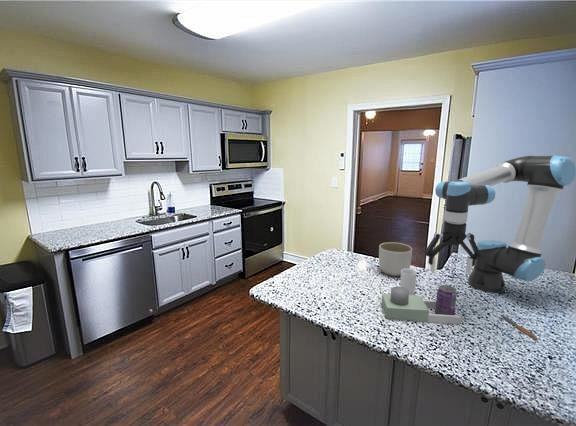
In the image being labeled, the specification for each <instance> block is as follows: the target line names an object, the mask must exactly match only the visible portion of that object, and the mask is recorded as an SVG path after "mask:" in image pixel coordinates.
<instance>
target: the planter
mask: <svg viewBox="0 0 576 426" xmlns="http://www.w3.org/2000/svg"><path fill="white" fill-rule="evenodd" d="M412 254H413V248H412V246H410V245H409V244H405V243H402V242H395V241H393V242H392V241H390V242H383V243H380V244H379V246H378V264H379V265H378V266H379V268H380V270H381V272H383V273H384V274H386V275H388V276H392V277H401V270H402V269H411V263H412V257H413V256H412Z"/></svg>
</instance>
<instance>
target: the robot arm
mask: <svg viewBox="0 0 576 426" xmlns="http://www.w3.org/2000/svg"><path fill="white" fill-rule="evenodd" d="M575 177H576V164H575V162H574V160H573V159H571V158H570V157H568V156H562V155H561V156H560V155H523V156H520V157H516V158H515V157H514V158H512V159H509V160H506V161H502V162H500V163H498V164H496V166H494V167H491V168H488V169H485V170H483V171H479V172H476V173H474V174H471V175H468V176H465V177H462V178H459V179H456V180H453V181H447V180H446V181H440V182H438V184H437V185H436V186H435V191H434V192H435V195H436V197H438V198H440V199H442V200H445V211H444V222H443V232H442V233H438V232H435V233H434V235H433V238H432V239H431V241H430V243H428V245H427V247H426V249H425V251H424V252H423V254H424V255H425V256H426V257H428V264H429V265H430V272H431V274H435V270H436V257H435V256H436V255H438V254H439V253H440V252H441V251H442V250H443V249H444V248H445V247H447V246H448V245H449V246H461V248H462V249H464V251H465V252H466V253H467V254H468V256H467V258H466V268H465V273H466V274H467V275H469V276H468V277H467V278H468V279H467V283H468V285H470V287H472V288H474V289H477V290H480V291H483V292H487V293H494V294H495V293H502V292H504V291H505V288H506V287H505V286H506V284H505V280H504V276H503V273H504V274H505V275H509V276H511V277H513V278H515V279H517V280H522V281H525V282H531V281H532V282H533V281H534V280H537V278H539V277H540V276H541V275H543V272H544V270H545V268H546V260H545V259H544V258H543V257H542V253H543V252H542V251H541V250H540V245H541V242H542V239H543V235H544V233H545V230H546V226H547V223H548V220H549V216H550V214H551V211H552V208H553V205H554V202H555V198H556V195H557V194H558V193H560V192H562V191H563V189H564V187H565V186H569V185H571V184H572V182H573V181H574V180H575ZM510 182H522V183H523V182H525V183H527V184H526V186H527V187H528V189H529V193H528V196H527V198H526V203H525V206H524V209H523V211H522V215H521V218H520V222H519V225H518V227H517V228H518V229H517V231H516V234H515V238H514V241H513V242H512V243H510V244H508V245H507V242H505V241H501V240H493V239H492V240H491V239H490V240H487V239H486V240H480V241H478V242H477V243H476V241H475V235H474V234H473V233H471V232H468V233H467V234H466V230H467V221H468V212H469V207H470V206H479V205H483V206H484V205H486V204H487V205H488V204H491V203H492V202H493V201H494V200H495V198H496V191H495V188H494V187H492V186H496V185H498V184H501V183H504V184H506V183H507V184H508V183H510ZM441 238H442V240H441ZM465 239H467V240H468V242H469V245H470V247H471V249H472V250H473V252H472V250H471V249H470V248H469V247H468V246H467V244H466V243H465V242H464V241H465ZM439 240H441V241H440V242H439ZM472 267H473V269H472Z"/></svg>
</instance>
